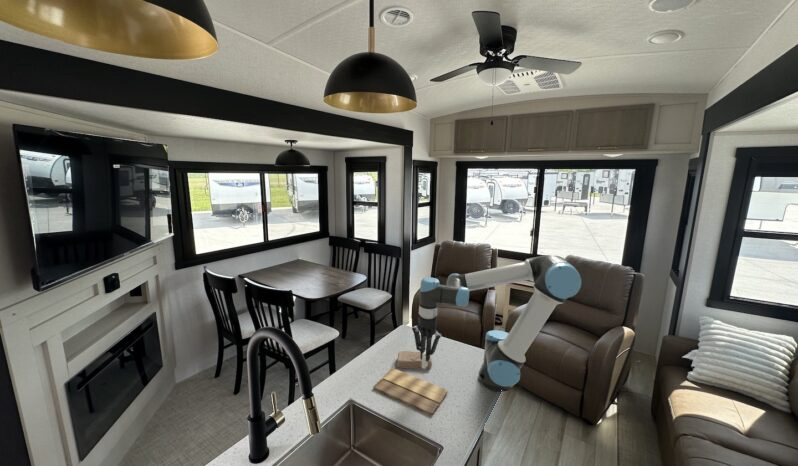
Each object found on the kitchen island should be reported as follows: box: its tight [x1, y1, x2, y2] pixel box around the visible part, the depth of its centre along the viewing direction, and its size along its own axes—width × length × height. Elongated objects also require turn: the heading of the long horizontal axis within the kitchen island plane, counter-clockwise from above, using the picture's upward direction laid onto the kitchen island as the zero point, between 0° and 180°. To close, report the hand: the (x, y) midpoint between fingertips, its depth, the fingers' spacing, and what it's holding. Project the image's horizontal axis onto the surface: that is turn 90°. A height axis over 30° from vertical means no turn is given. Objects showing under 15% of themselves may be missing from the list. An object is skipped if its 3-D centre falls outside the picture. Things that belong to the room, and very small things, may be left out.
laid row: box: [372, 378, 440, 417], centre depth 128 cm, size 28×6×1 cm, turn 58°
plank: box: [381, 367, 448, 406], centre depth 135 cm, size 28×8×1 cm, turn 58°
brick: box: [396, 350, 433, 369], centre depth 152 cm, size 17×8×5 cm, turn 88°
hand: (424, 366), depth 131 cm, fingers closed
